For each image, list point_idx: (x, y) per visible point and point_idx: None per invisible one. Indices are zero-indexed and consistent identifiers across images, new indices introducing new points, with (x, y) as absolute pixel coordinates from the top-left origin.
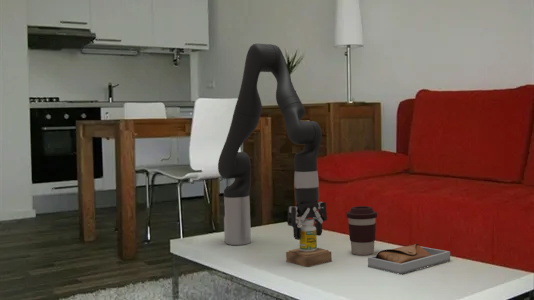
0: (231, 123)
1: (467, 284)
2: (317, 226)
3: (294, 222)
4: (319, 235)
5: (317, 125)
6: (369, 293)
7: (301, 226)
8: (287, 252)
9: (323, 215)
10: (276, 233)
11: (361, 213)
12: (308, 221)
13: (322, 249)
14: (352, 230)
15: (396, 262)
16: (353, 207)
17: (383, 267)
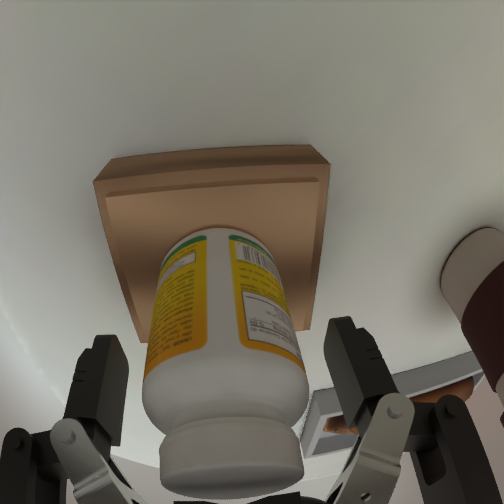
0: None
1: (312, 471)
2: (347, 396)
3: (55, 486)
4: (324, 348)
5: None
6: (157, 464)
7: (169, 414)
8: (96, 195)
9: (418, 472)
10: None
11: None
12: (204, 494)
13: (294, 304)
14: (493, 344)
15: (338, 433)
16: None
17: (307, 424)
